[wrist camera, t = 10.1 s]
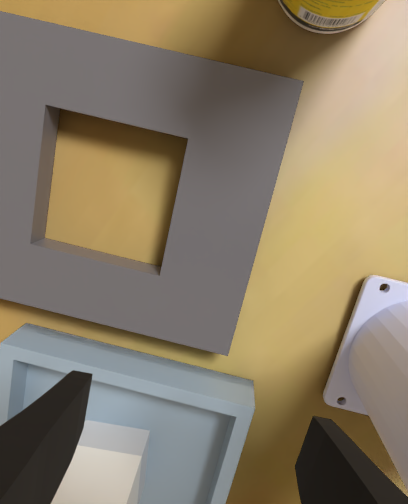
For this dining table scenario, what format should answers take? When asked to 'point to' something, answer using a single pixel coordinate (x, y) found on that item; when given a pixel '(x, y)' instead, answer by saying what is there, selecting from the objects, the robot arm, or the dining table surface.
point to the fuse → (106, 466)
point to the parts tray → (141, 407)
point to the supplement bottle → (329, 13)
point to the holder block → (189, 189)
